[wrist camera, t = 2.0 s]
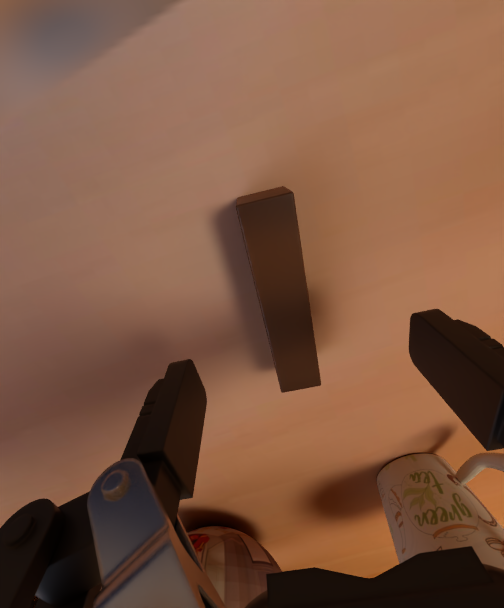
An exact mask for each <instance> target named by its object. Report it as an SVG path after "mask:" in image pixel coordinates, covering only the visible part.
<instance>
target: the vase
mask: <svg viewBox="0 0 504 608" xmlns="http://www.w3.org/2000/svg"><path fill="white" fill-rule="evenodd" d="M37 601H38V600H36V601H32V603H31V605H30V608H33V606H34V605H35V604H36V603H37Z"/></svg>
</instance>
